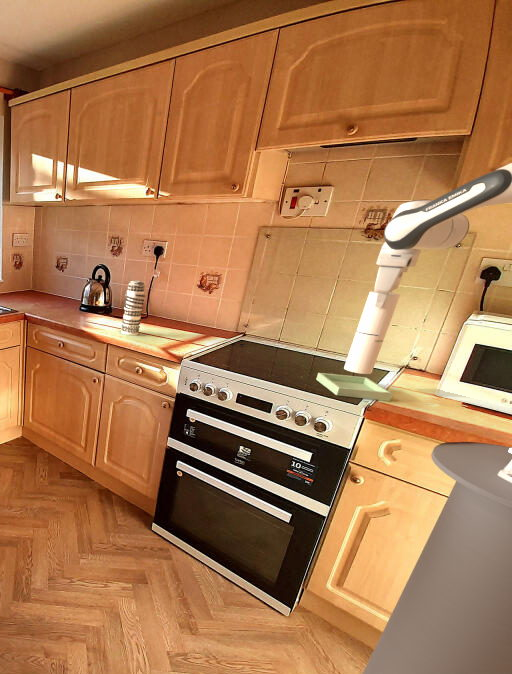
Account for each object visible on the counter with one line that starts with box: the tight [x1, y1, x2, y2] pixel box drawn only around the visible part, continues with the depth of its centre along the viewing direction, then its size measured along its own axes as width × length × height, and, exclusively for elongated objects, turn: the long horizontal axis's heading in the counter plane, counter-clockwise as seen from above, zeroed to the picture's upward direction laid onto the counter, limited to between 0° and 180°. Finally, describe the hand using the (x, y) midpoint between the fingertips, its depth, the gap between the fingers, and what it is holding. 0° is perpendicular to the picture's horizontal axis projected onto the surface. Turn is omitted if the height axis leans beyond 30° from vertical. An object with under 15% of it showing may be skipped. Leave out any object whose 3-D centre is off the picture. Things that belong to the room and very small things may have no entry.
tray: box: [315, 372, 394, 402], centre depth 140 cm, size 16×15×3 cm
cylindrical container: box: [343, 291, 401, 375], centre depth 134 cm, size 7×7×25 cm
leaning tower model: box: [120, 279, 146, 336], centre depth 203 cm, size 9×9×25 cm
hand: (380, 305), depth 131 cm, fingers closed on cylindrical container, 7 cm apart
